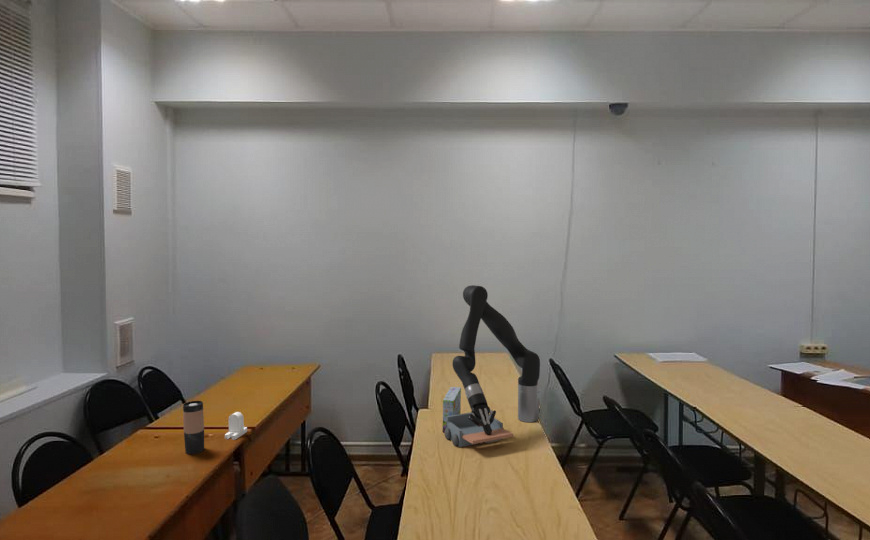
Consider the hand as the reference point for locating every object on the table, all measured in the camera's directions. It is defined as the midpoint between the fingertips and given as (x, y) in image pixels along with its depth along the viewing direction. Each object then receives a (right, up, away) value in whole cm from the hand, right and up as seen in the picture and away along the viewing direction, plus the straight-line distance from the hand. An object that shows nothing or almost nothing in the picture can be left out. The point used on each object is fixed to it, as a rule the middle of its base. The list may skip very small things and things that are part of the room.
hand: (489, 434), depth 213 cm
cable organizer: (-112, -6, +18) cm, 113 cm away
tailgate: (-2, -1, +5) cm, 6 cm away
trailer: (-5, -6, +13) cm, 15 cm away
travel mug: (-122, -7, +1) cm, 123 cm away
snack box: (-15, -5, +29) cm, 33 cm away
